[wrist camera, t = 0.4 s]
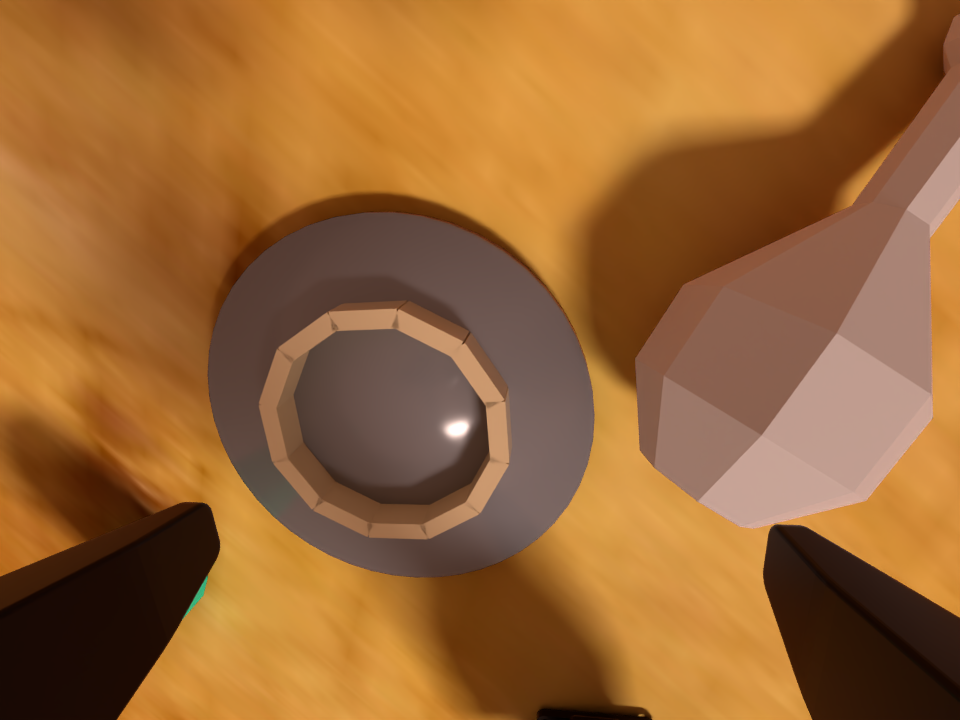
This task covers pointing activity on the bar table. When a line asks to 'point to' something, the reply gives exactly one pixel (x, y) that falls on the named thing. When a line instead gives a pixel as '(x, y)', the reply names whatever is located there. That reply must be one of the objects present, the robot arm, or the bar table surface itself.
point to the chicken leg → (809, 344)
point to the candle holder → (401, 394)
